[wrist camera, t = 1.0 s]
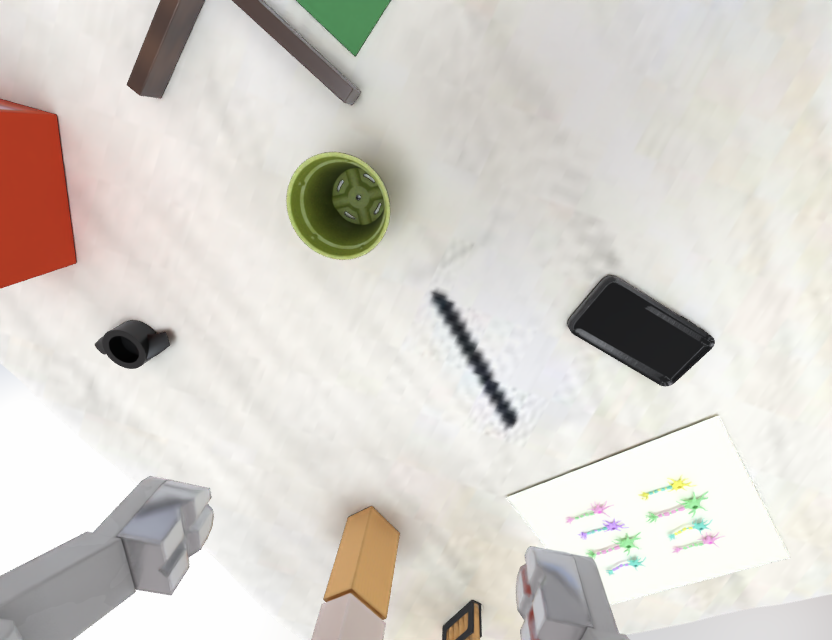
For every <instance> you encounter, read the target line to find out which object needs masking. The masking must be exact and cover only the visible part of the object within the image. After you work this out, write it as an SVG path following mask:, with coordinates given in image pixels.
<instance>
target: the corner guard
mask: <svg viewBox="0 0 832 640" xmlns="http://www.w3.org/2000/svg"><path fill="white" fill-rule="evenodd" d="M232 1H233V2H234V3H235V4H237V5H238V6H239V7H240V8H241V9H242V10H243V11H244V12H245V13H246V14H248V15H249V16H250V17H251V18H252V19H253V20H254V21H255V22H256V23H257V24H258V25H260V26H261V27H262V28H263V29H264V30H265V31H266V32H267V33H268V34H269V35H271V36H272V37H273V38H274V39H275V40H276V41H277V42H278V43H279V44H280V45H282V46H283V47H284V48H285V49H286V50H287V51H288V52H289V53H290V54H291V55H292V56H294V57H295V58H296V59H297V60H298V61H299V62H300V63H301V64H302V65H303V66H305V67H306V68H307V69H308V70H309V71H310V72H311V73H312V74H313V75H314V76H315V77H317V78H318V79H319V80H320V81H321V82H322V83H323V84H324V85H325V86H326V87H328V88H329V89H330V90H331V91H332V92H333V93H334V94H335V95H336V96H337V97H338V98H340V99H341V100H342V101H343V102H344V103H347V104H351V105H353V103H354V102H355V100H356V99H357V97H358V96H359V94H360V93H361V92H360V91H359V90H358V89H357V88H356V87H355V86H354V85H353V84H352V83H351V82H350V81H349V80H348V79H347V78H345V77H344V76H343V75H342V74H341V73H340V72H339V71H338V70H337V69H336V68H335V67H334V66H333V65H331V64H330V63H329V62H328V61H327V60H326V59H325V58H324V57H323V56H322V55H321V54H320V53H319V52H317V51H316V50H315V49H314V48H313V47H312V46H311V45H310V44H309V43H308V42H307V41H306V40H305V39H304V38H302V37H301V36H300V35H299V34H298V33H297V32H296V31H295V30H294V29H293V28H292V27H291V26H290V25H288V24H287V23H286V22H285V21H284V20H283V19H282V18H281V17H280V16H279V15H278V14H277V13H276V12H274V11H273V10H272V9H271V8H270V7H269V6H268V5H267V4H266V3H265V2H264V1H263V0H232ZM203 3H204V0H160V3H159V5H158V8H157V10H156V13H155V15H154V18H153V20H152V23H151V25H150V28H149V30H148V33H147V35H146V38H145V40H144V43H143V45H142V48H141V50H140V53H139V55H138V58H137V60H136V63H135V65H134V68H133V70H132V73H131V75H130V78H129V80H128V82H127V85H128V86H129V87H130V88H131V89H132V90H134V91H135V92H136V93H137V94H139V95H140V96H147V97H154V98H161V97H162V95H163V93H164V90H165V88H166V86H167V84H168V81H169V79H170V77H171V75H172V72H173V70H174V68H175V66H176V63H177V61H178V59H179V57H180V54H181V52H182V50H183V48H184V45H185V43H186V41H187V39H188V36H189V34H190V32H191V30H192V27H193V25H194V23H195V21H196V18H197V16H198V14H199V12H200V9H201V7H202V5H203Z"/></svg>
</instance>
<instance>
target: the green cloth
mask: <svg viewBox="0 0 832 640" xmlns="http://www.w3.org/2000/svg"><path fill="white" fill-rule="evenodd" d="M296 1H297V2H298V3H299V4H300V5H301V6H302V7H303V8H305V9H306V10H307V11H308V12H309V13H310V14H311V15H312V16H313V17H314V18H315V19H316V20H317V21H318V22H319V23H320V24H321V25H322V26H324V27H325V28H326V29H327V30H328V31H329V32H330V33H331V34H332V35H333V36H334V37H335V38H336V39H337V40H338V41H339V42H340V43H341V44H343V45H344V46H345V47H346V48H347V49H348V50H349V51H350V52H351V53H352V54H353V55H354V56H356V55H357V53H358V51H359V50H360V48H361V47H362V45H363V44H364V42H365V40H366V39H367V37H368V36H369V34H370V32H371V31H372V29H373V28H374V26H375V24H376V23H377V21H378V20H379V18H380V17H381V15H382V13H383V12H384V10H385V9H386V7H387V5H388V4H389V2H390V1H391V0H296Z"/></svg>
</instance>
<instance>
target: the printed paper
mask: <svg viewBox="0 0 832 640" xmlns="http://www.w3.org/2000/svg"><path fill="white" fill-rule="evenodd" d="M506 498H507V500H508V501H509V502H510V503H511V505H512V506H513V507H514V508H515V510H516V511H517V512H518V513H519V515H520V516H521V517H522V518H523V520H524V521H525V522H526V523H527V525H528V526H529V527H530V529H531V530H532V531H533V532H534V534H535V535H536V536H537V537H538V539H539V540H540V541H541V542H542V544H543V545H544V546H545V547H546V549H549V550H555V551H561V552H567V553H570V554H575V555H581V556H587V557H591V558H593V560H594V561H595V562H596V565H597V568H598V571H599V574H600V577H601V580H602V583H603V586H604V589H605V592H606V595H607V598H608V601H609V604H610V605H612V604H616V603H620V602H624V601H628V600H631V599H635V598H639V597H643V596H647V595H650V594H654V593H658V592H662V591H666V590H669V589H673V588H677V587H681V586H685V585H688V584H692V583H696V582H700V581H704V580H708V579H711V578H715V577H719V576H723V575H727V574H730V573H734V572H738V571H742V570H746V569H749V568H753V567H757V566H761V565H765V564H768V563H772V562H776V561H780V560H784V559H788V558H791V557H790V555H789V553H788V551H787V549H786V547H785V545H784V543H783V541H782V539H781V537H780V535H779V534H778V532H777V530H776V528H775V526H774V524H773V522H772V520H771V518H770V516H769V514H768V512H767V510H766V508H765V506H764V504H763V502H762V500H761V498H760V496H759V494H758V492H757V490H756V488H755V486H754V484H753V482H752V480H751V478H750V476H749V474H748V472H747V470H746V468H745V466H744V464H743V462H742V460H741V458H740V456H739V454H738V452H737V450H736V449H735V447H734V445H733V443H732V441H731V439H730V437H729V435H728V433H727V431H726V429H725V427H724V425H723V423H722V421H721V419H720V417H719V415H718V416H715V417H713V418H710V419H708V420H705V421H702V422H700V423H697V424H695V425H692V426H689V427H687V428H684V429H682V430H679V431H676V432H674V433H671V434H669V435H666V436H664V437H661V438H658V439H656V440H653V441H651V442H648V443H645V444H643V445H640V446H638V447H635V448H633V449H630V450H627V451H625V452H622V453H620V454H617V455H614V456H612V457H609V458H607V459H604V460H602V461H599V462H596V463H594V464H591V465H589V466H586V467H583V468H581V469H578V470H576V471H573V472H570V473H568V474H565V475H563V476H560V477H558V478H555V479H552V480H550V481H547V482H545V483H542V484H539V485H537V486H534V487H532V488H529V489H527V490H524V491H521V492H519V493H516V494H514V495H511V496H508V497H506Z"/></svg>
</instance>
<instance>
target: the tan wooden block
mask: <svg viewBox="0 0 832 640" xmlns="http://www.w3.org/2000/svg"><path fill="white" fill-rule="evenodd" d="M399 536H400V533H399V532H398V531H397V530H396V529H395V528H394V527H393V526H392V525H391V524H390V523H389V522H388V521H387V520H386V519H385V518H384V517H383V516H382V515H381V514H380V513H378V512H377V511H376V510H375V509H374V508H373V507H372V506H370V507H368V508H366V509H364V510H362V511H360V512H358V513H356V514H354V515H352V516H350V517H348V519H347V522H346V525H345V529H344V532H343V535H342V539H341V542H340V545H339V549H338V552H337V555H336V559H335V562H334V565H333V569H332V572H331V575H330V579H329V582H328V585H327V589H326V592H325V595H324V599H323V600H324V601H325V602H326V603H323V604H322V605H321V609H320V612H319V615H318V619H317V622H316V625H315V629H314V632H313V635H312V639H311V640H383V638H384V631H385V625H386V623H385V622H384V621H383V620H384V619H386V618H387V612H388V606H389V599H390V593H391V587H392V580H393V574H394V568H395V561H396V555H397V549H398V542H399Z"/></svg>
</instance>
